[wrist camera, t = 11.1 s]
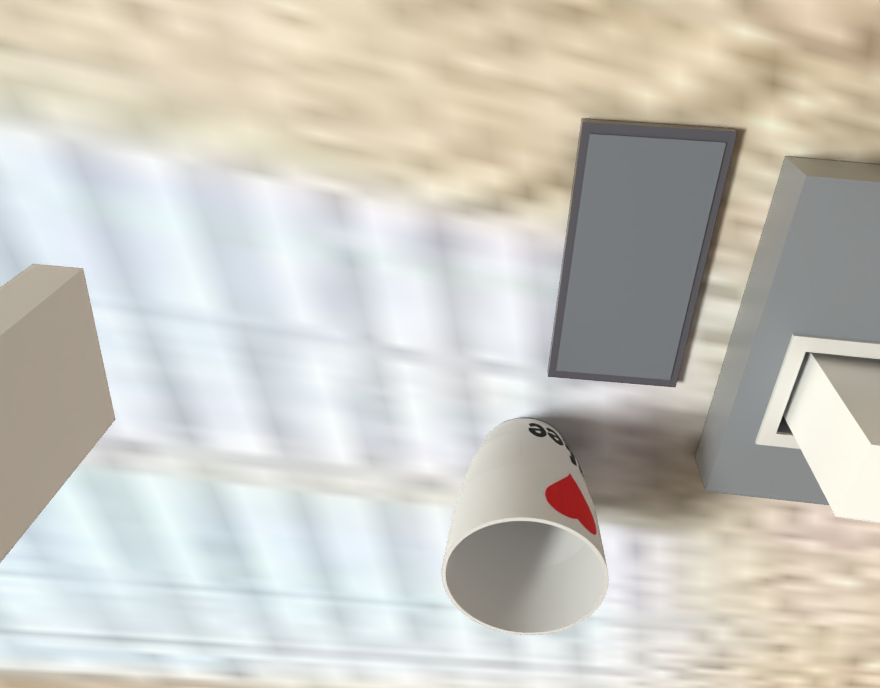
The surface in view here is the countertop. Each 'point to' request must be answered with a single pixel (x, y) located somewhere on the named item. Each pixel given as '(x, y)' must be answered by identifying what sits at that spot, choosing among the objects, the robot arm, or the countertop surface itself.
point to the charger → (840, 429)
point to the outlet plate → (794, 324)
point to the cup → (525, 535)
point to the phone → (636, 248)
